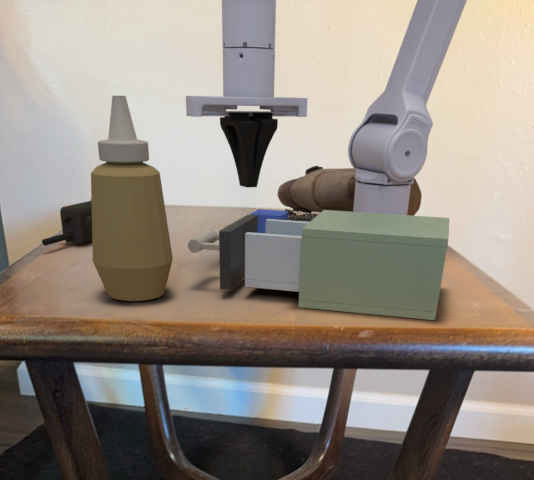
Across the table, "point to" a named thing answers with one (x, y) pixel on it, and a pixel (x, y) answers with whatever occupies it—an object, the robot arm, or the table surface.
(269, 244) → the grey drawer
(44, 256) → the table surface
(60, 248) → the table surface
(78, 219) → the walkie-talkie
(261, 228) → the blue rounded cube
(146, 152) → the squeeze bottle
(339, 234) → the drawer cabinet
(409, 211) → the boot
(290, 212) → the knife
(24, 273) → the table surface
